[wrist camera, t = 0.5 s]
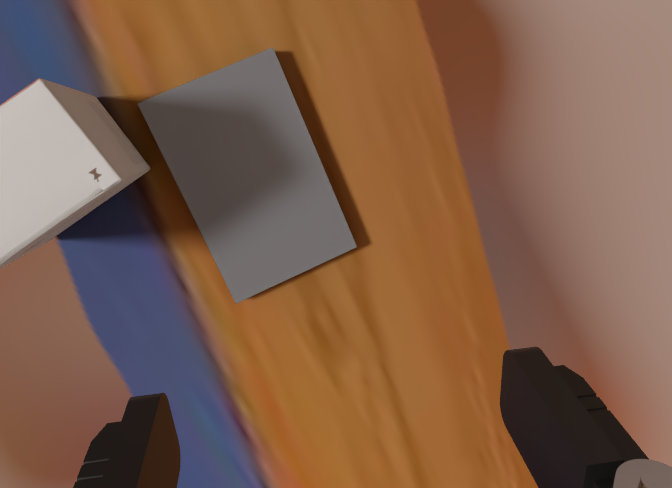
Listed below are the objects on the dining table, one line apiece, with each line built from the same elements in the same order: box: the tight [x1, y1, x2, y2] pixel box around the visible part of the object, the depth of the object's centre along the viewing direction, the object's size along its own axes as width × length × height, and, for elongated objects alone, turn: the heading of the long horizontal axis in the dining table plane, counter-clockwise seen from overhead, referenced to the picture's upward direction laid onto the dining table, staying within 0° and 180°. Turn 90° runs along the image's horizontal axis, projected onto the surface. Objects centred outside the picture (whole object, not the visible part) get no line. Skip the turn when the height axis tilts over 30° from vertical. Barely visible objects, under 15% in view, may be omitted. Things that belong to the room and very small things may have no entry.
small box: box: [0, 78, 151, 268], centre depth 29 cm, size 8×6×10 cm
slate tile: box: [137, 48, 357, 303], centre depth 36 cm, size 14×9×1 cm, turn 24°
